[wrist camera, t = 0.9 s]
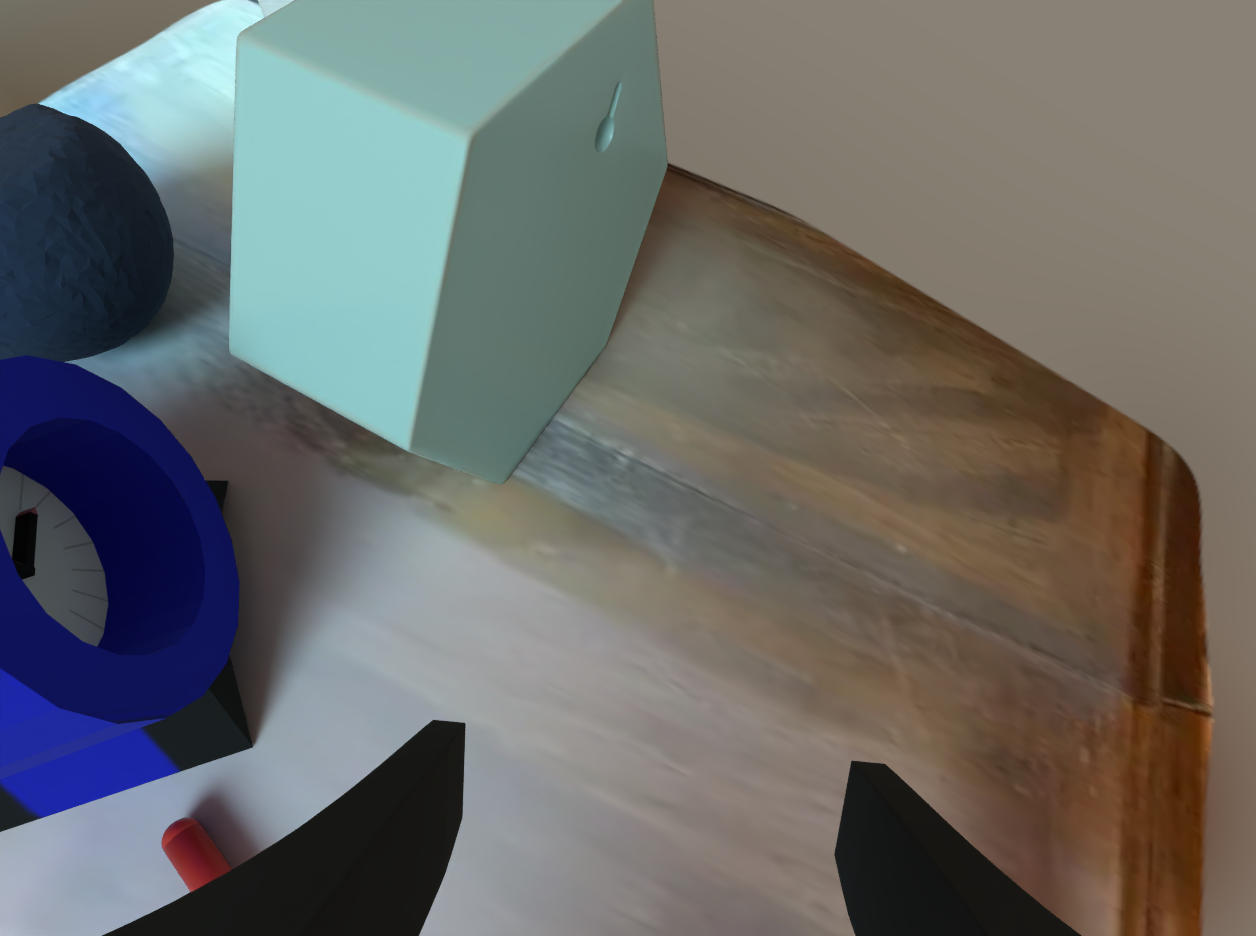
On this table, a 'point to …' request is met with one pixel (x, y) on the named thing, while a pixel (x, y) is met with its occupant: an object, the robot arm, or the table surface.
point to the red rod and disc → (193, 853)
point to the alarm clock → (106, 596)
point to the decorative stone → (75, 239)
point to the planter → (441, 209)
